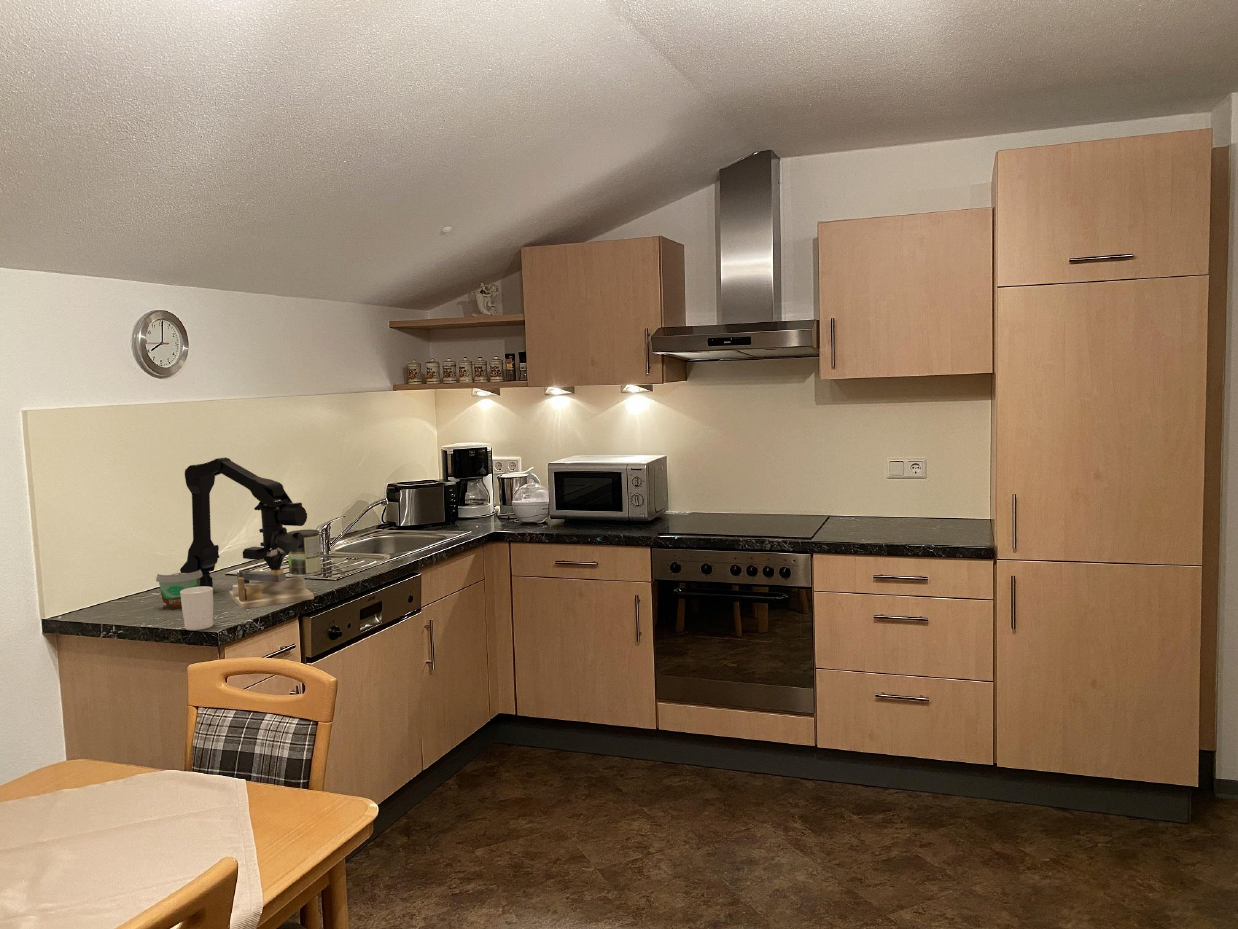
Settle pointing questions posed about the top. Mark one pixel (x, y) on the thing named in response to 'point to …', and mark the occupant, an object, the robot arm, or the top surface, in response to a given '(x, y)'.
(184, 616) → the white cup
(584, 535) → the top surface
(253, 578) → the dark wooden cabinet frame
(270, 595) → the wooden base tray
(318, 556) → the coffee can
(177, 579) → the food container
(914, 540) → the top surface
